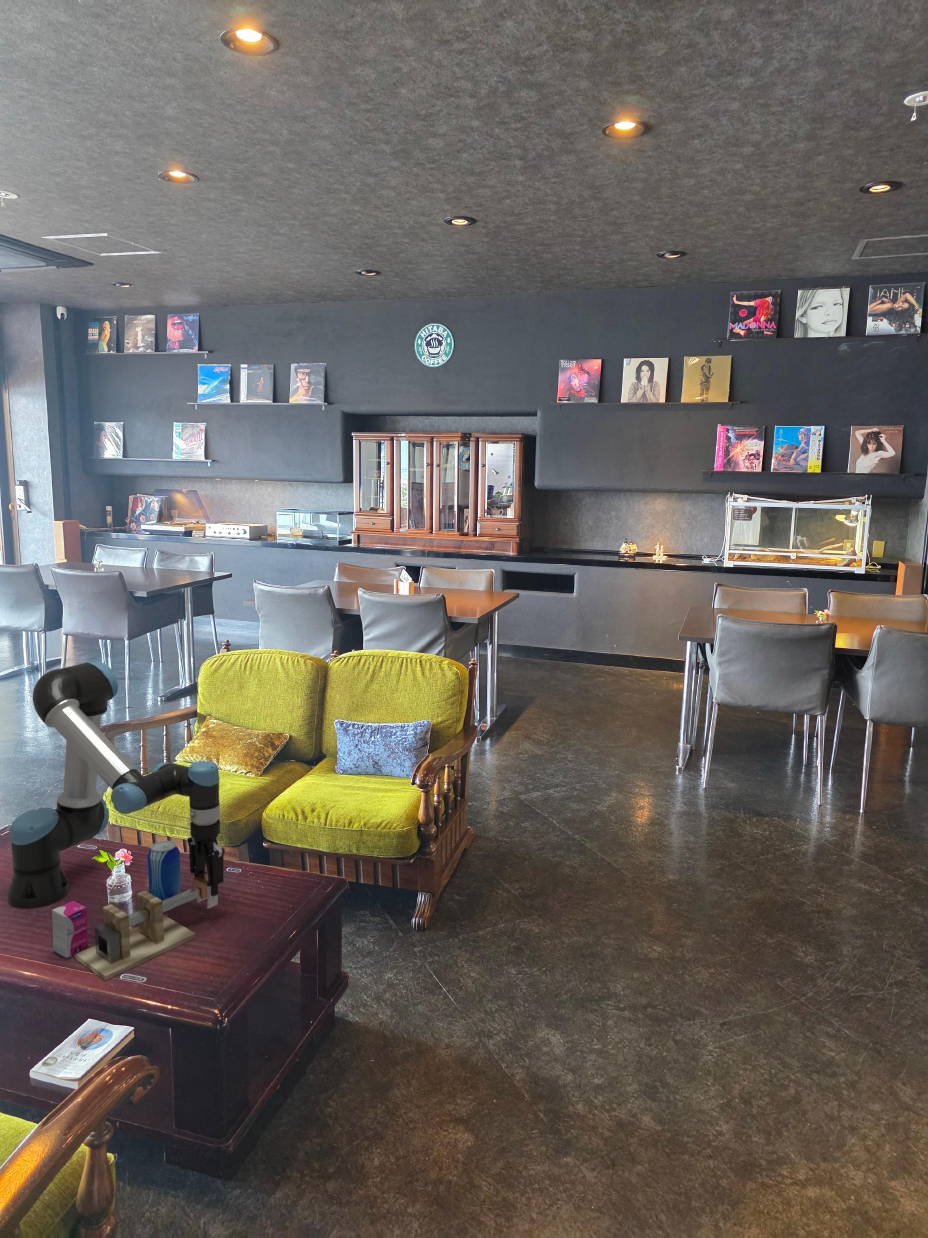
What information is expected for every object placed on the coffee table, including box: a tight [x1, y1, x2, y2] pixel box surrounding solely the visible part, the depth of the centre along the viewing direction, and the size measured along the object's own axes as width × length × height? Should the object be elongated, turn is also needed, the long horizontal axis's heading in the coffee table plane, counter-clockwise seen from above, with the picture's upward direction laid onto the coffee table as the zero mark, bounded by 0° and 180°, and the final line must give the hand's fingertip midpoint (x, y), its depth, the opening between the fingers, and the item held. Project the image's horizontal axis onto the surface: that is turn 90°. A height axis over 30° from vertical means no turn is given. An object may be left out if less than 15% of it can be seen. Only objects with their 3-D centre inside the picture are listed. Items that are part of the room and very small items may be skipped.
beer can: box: [147, 840, 182, 901], centre depth 226 cm, size 8×8×16 cm
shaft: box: [128, 874, 209, 928], centre depth 209 cm, size 4×23×4 cm, turn 142°
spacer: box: [94, 922, 121, 964], centre depth 196 cm, size 7×2×7 cm, turn 52°
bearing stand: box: [74, 890, 196, 982], centre depth 202 cm, size 14×24×12 cm, turn 142°
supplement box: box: [51, 900, 89, 960], centre depth 200 cm, size 6×6×12 cm
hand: (207, 903), depth 218 cm, fingers closed on shaft, 4 cm apart
